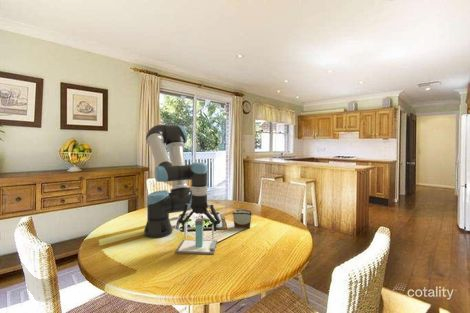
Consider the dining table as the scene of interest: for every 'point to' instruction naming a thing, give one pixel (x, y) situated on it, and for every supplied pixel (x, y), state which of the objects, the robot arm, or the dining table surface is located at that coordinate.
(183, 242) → the clipboard
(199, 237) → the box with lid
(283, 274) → the dining table surface
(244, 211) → the food container
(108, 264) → the dining table surface
